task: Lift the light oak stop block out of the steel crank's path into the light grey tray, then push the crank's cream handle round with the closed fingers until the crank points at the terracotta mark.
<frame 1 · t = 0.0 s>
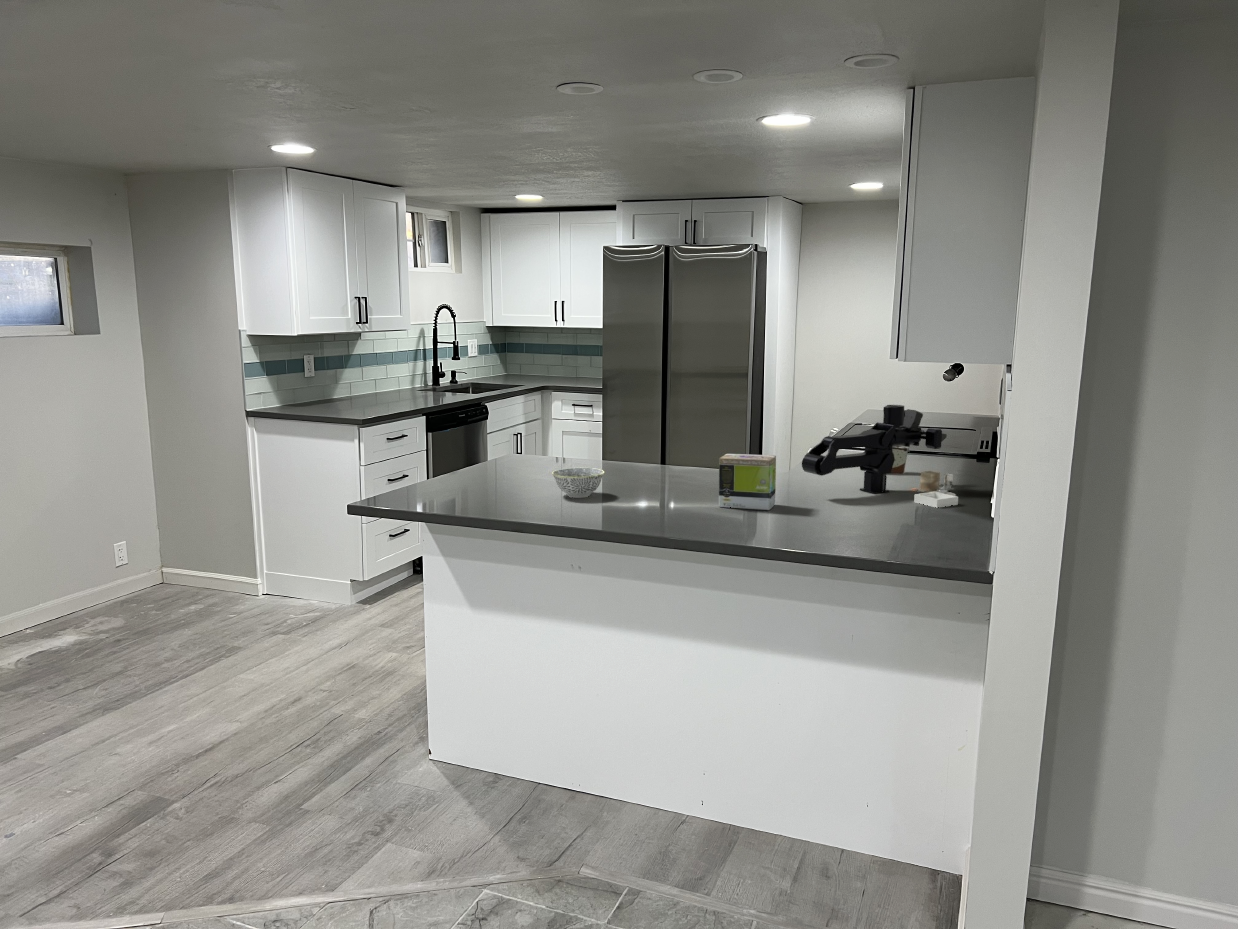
hand: (935, 434, 293), 17 cm above the counter, tool horizontal, fingers open, 9 cm apart
stop block: (929, 491, 284), on the counter
tea box: (746, 506, 263), on the counter
crank: (945, 483, 279), point 3 cm above the counter, hinge at 30.0°
food container: (888, 473, 316), on the counter
tray: (935, 503, 266), on the counter
crank base: (941, 496, 276), on the counter
bowl: (578, 496, 277), on the counter
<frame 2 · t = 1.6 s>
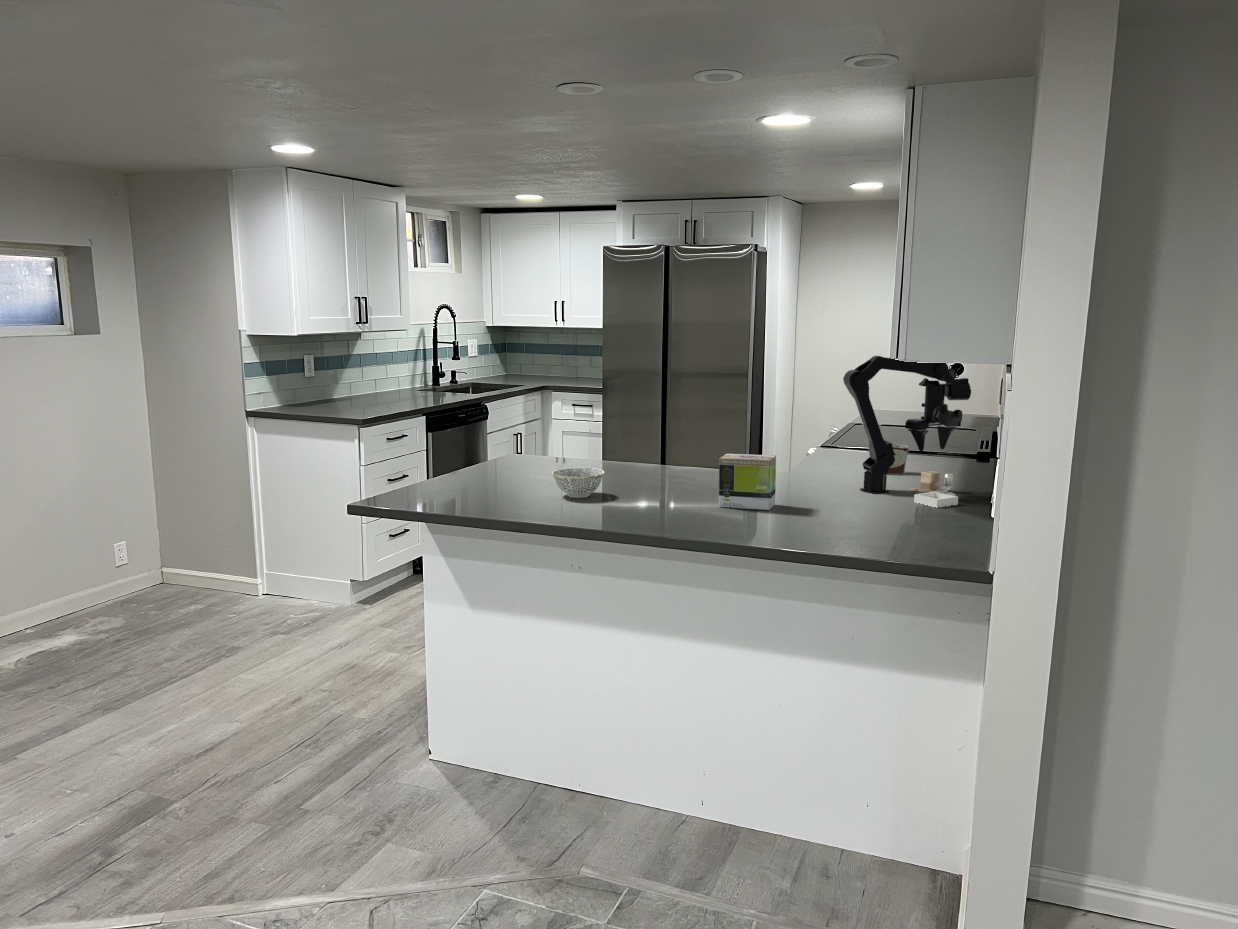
hand: (931, 450, 282), 13 cm above the counter, tool pointing down, fingers open, 9 cm apart
nothing on the counter moved.
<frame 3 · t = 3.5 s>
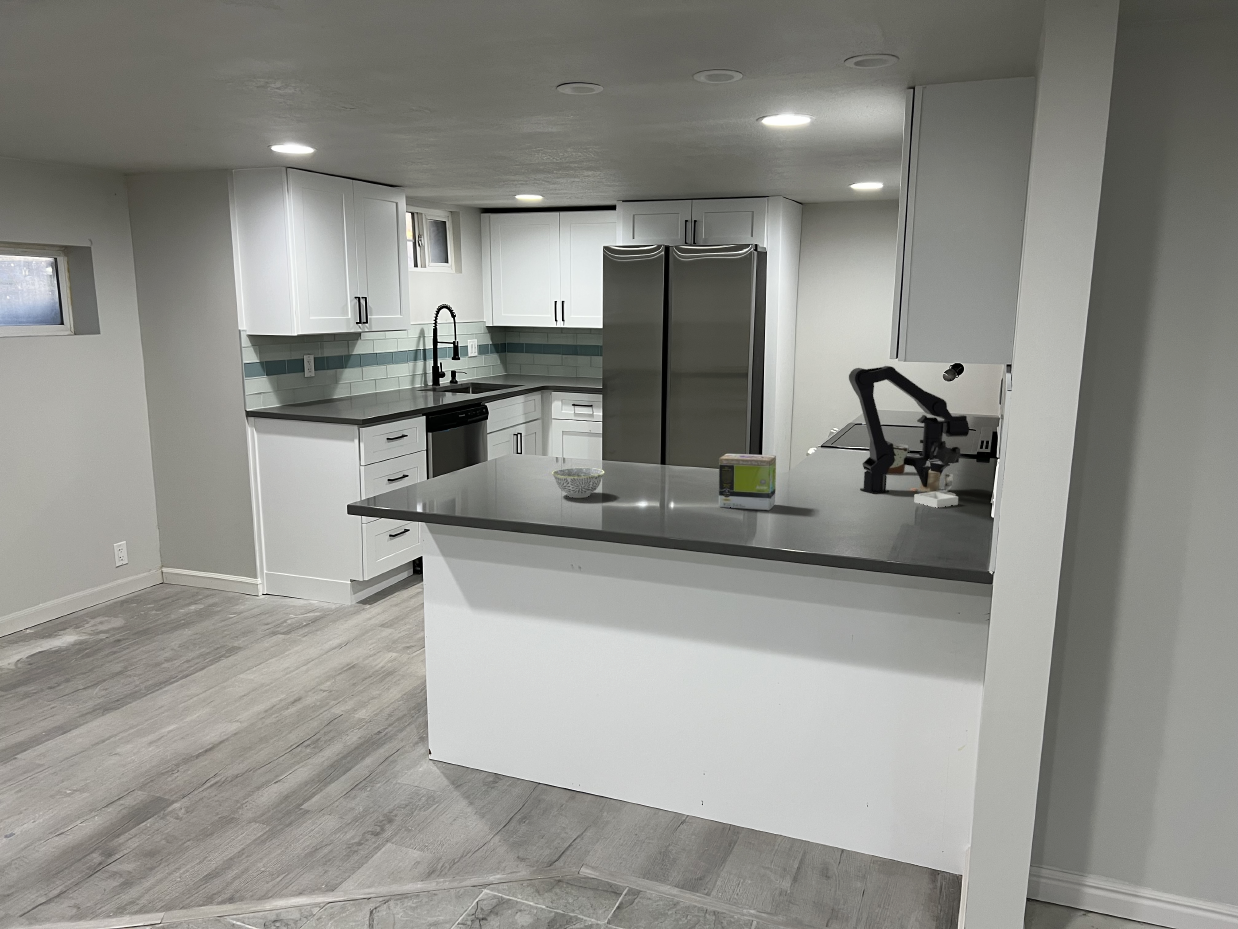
hand: (929, 486, 284), 2 cm above the counter, tool pointing down, fingers closed on stop block, 4 cm apart
stop block: (929, 491, 284), on the counter, touching gripper
everything else where it was.
when the fingers open (3 cm above the counter, at t = 7.7 s): stop block drops 1 cm, resting on tray.
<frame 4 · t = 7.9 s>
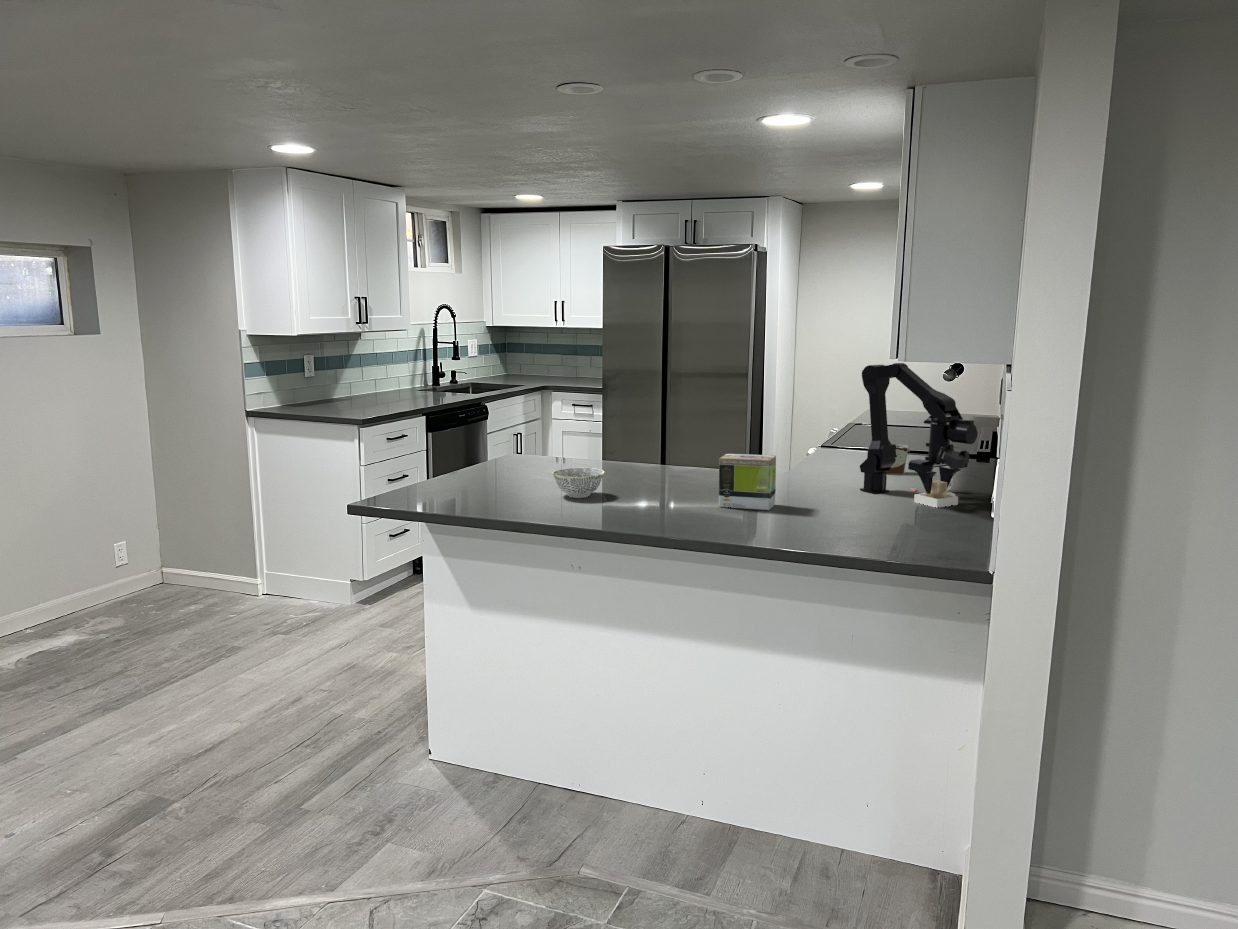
hand: (936, 492, 266), 3 cm above the counter, tool pointing down, fingers open, 6 cm apart
stop block: (935, 501, 266), resting on tray
everything else where it was.
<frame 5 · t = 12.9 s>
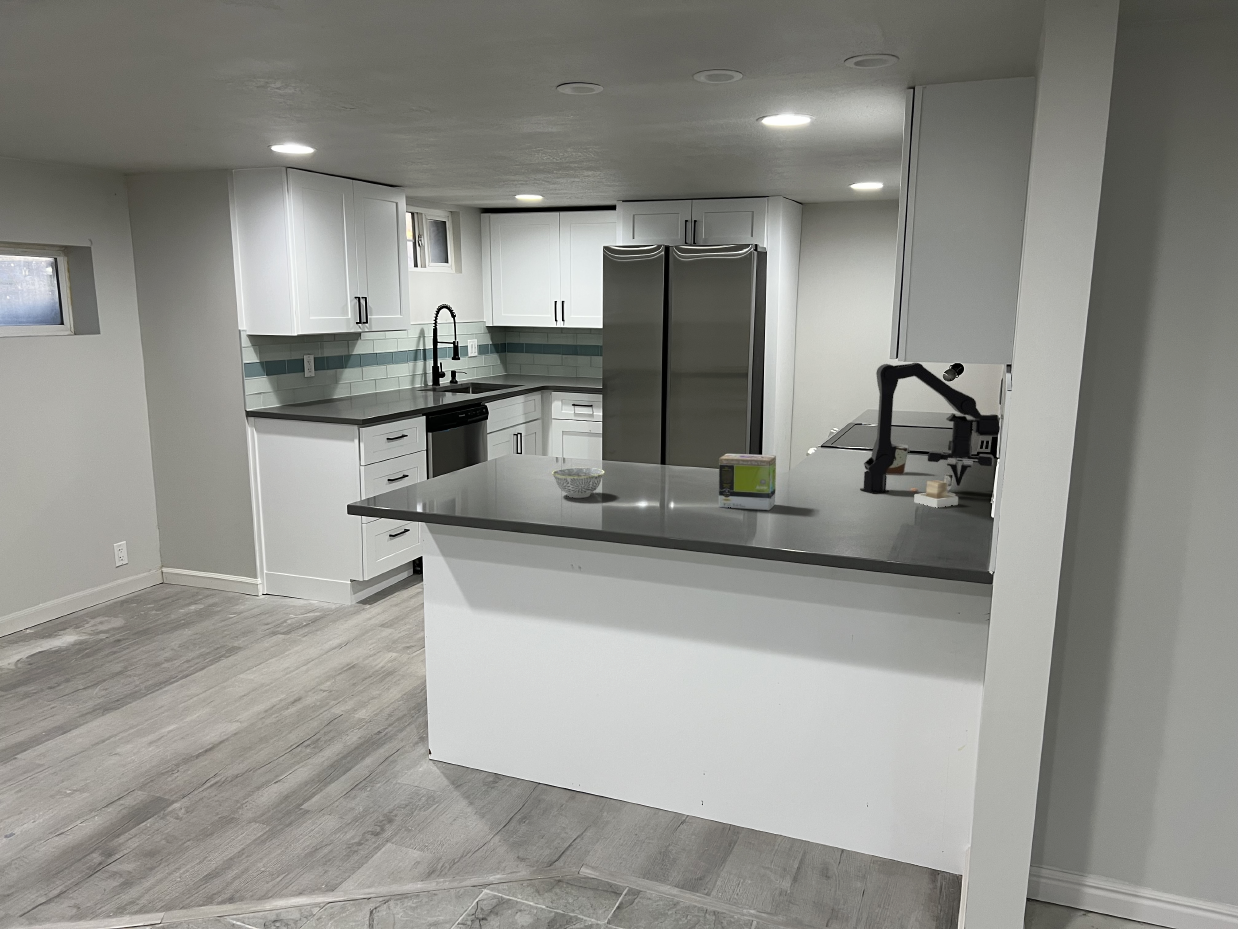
hand: (958, 485, 281), 2 cm above the counter, tool pointing down, fingers closed
crank: (945, 483, 279), point 3 cm above the counter, hinge at 30.0°, touching gripper
everything else where it was.
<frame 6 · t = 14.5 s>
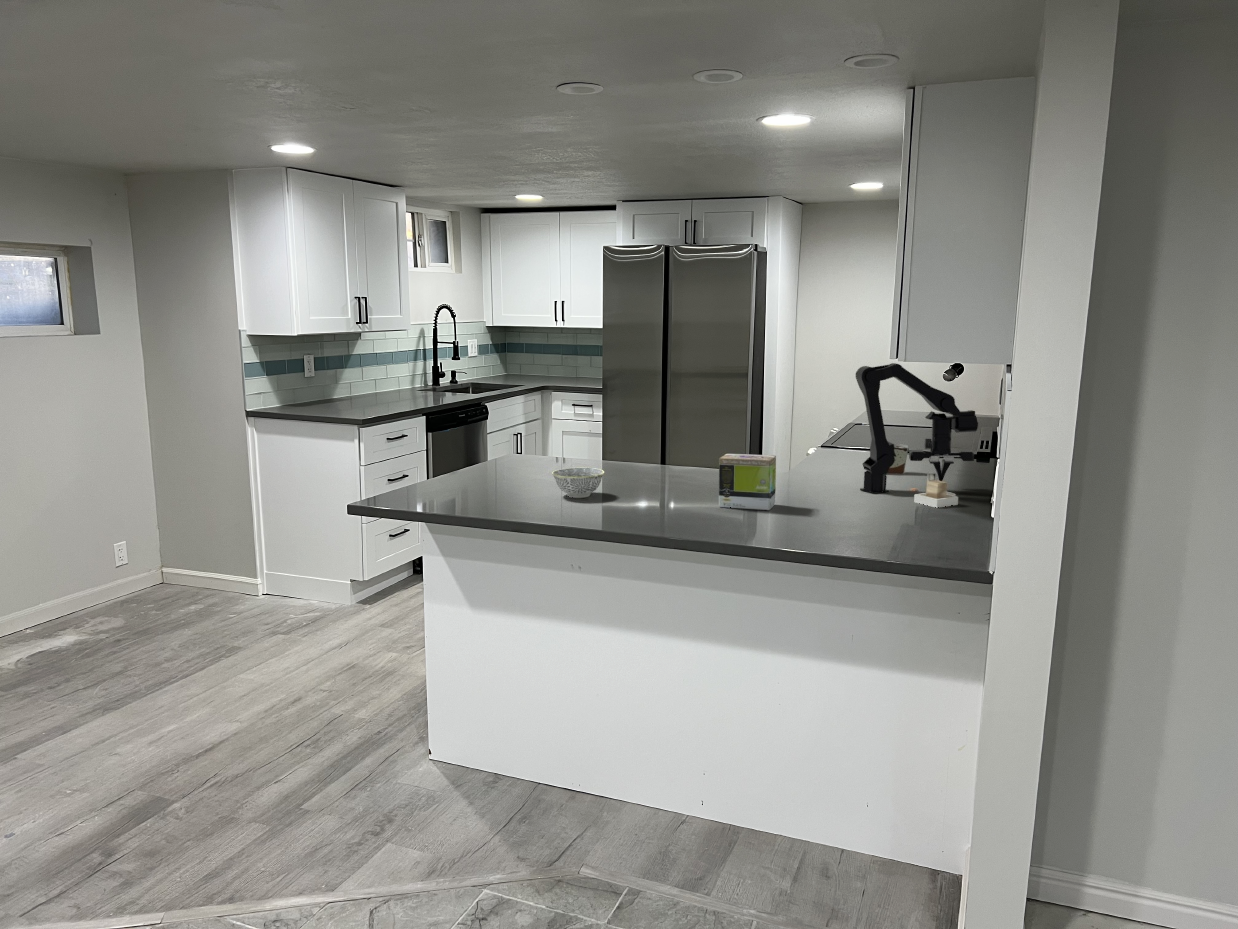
hand: (940, 482, 284), 3 cm above the counter, tool pointing down, fingers closed
crank: (936, 483, 279), point 3 cm above the counter, hinge at 63.2°, touching gripper
everything else where it was.
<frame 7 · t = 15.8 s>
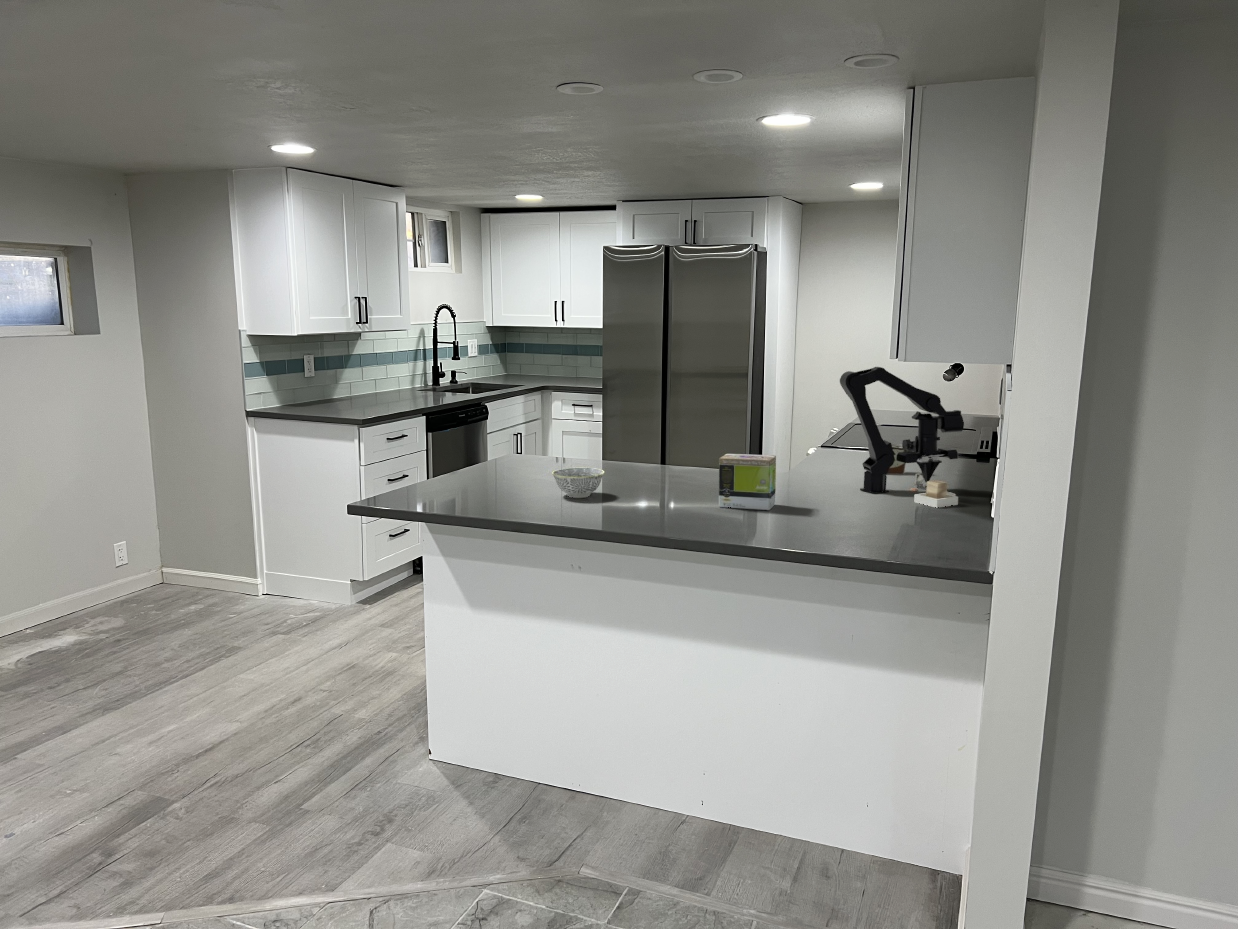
hand: (926, 482, 284), 3 cm above the counter, tool pointing down, fingers closed
crank: (930, 483, 279), point 3 cm above the counter, hinge at 90.6°, touching gripper
everything else where it was.
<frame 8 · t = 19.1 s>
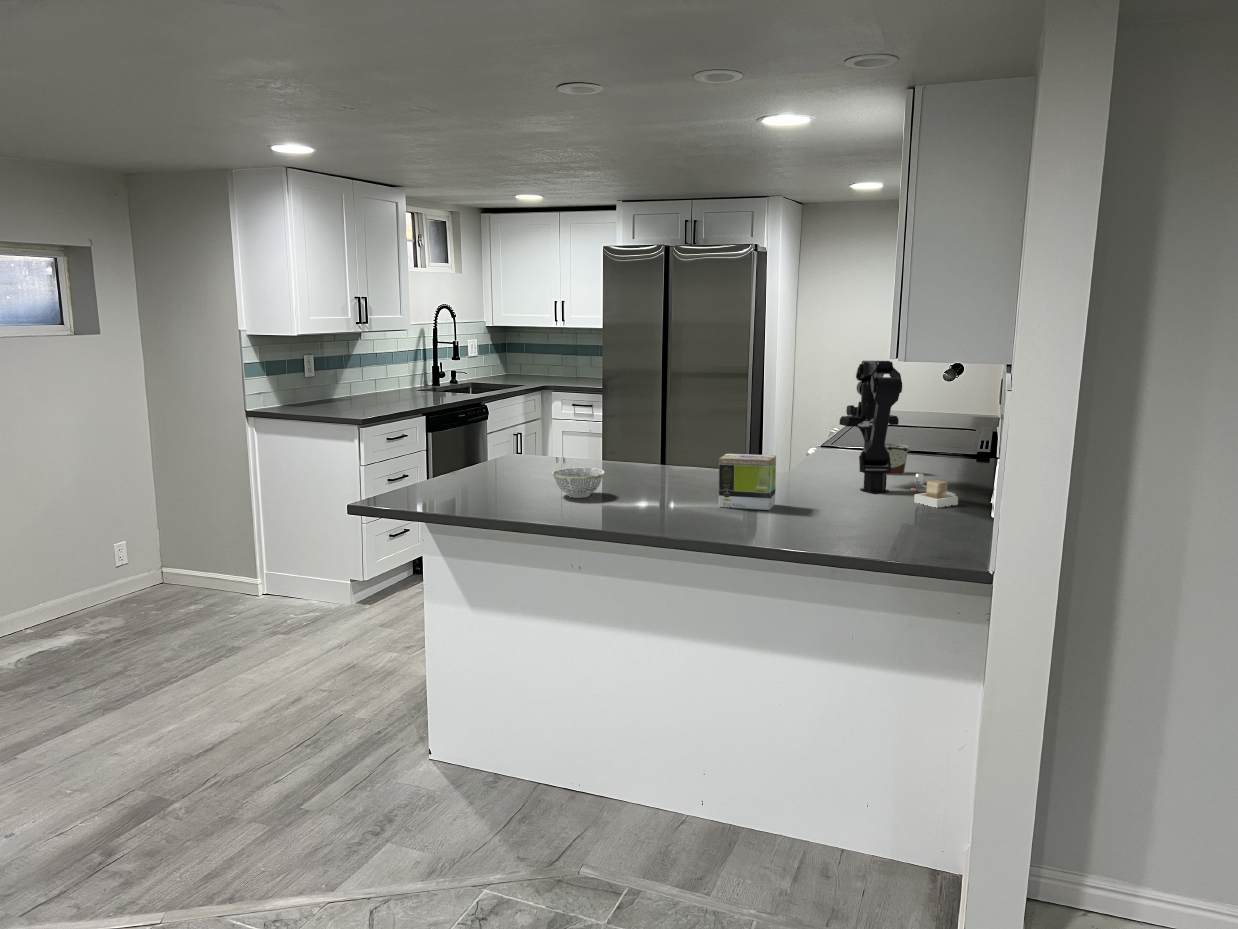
hand: (867, 446, 296), 12 cm above the counter, tool pointing down, fingers closed
crank: (930, 483, 279), point 3 cm above the counter, hinge at 90.8°
everything else where it was.
at the end: stop block 0.0 cm off-centre on the tray, point 0.5 cm above the tray's base; stop block tilted 0°; crank at +91° (first picture: +30°) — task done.
